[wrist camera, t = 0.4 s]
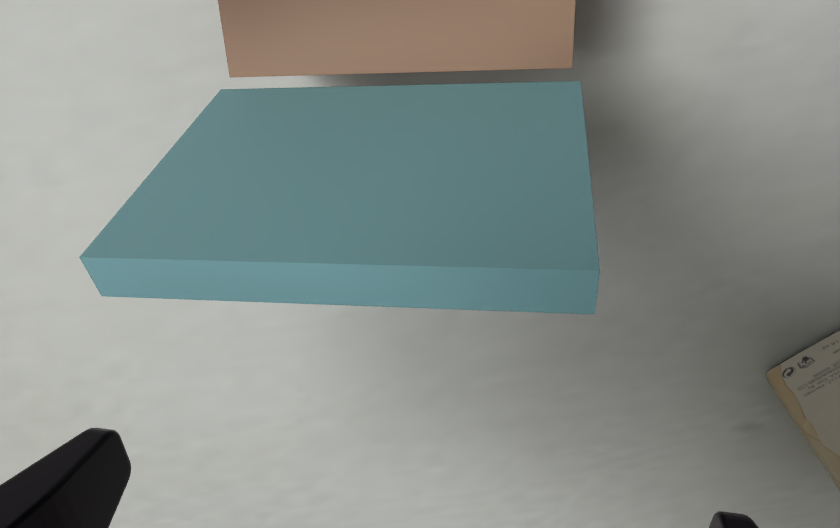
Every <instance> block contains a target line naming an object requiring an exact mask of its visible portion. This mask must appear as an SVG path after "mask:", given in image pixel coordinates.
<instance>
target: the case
mask: <svg viewBox="0 0 840 528" xmlns="http://www.w3.org/2000/svg"><path fill="white" fill-rule="evenodd" d="M218 4H219V10H220V17H221V23H222V30H223V36H224V43H225V49H226V56H227V63H228V69H229V76H230V77H259V76H296V75H333V74H370V73H407V72H444V71H481V70H518V69H556V68H572V63H573V42H574V21H575V0H218Z"/></svg>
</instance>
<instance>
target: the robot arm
mask: <svg viewBox="0 0 840 528" xmlns="http://www.w3.org/2000/svg"><path fill="white" fill-rule="evenodd" d="M130 473H131V463H130V460H129V458H128V455H127V452H126V450H125V447H124V445H123V442H122V440H121V437H120V435H119V434H118V433H117V432H116V431H115V430H110V429H102V428H90V429H88V430H86V431H84V432H82V433H81V434H79V435H78V436H76V437H74V438H73V439H71V440H70V441H68V442H67V443H65V444H64V445H62V446H60V447H59V448H57V449H56V450H54V451H53V452H51V453H50V454H48V455H46V456H45V457H43V458H42V459H40V460H39V461H37V462H36V463H34V464H32V465H31V466H29V467H28V468H26V469H25V470H23V471H22V472H20V473H18V474H17V475H15V476H14V477H12V478H11V479H9V480H8V481H6V482H4V483H3V484H1V485H0V528H108V527H109V525H110V523H111V520H112V518H113V516H114V513H115V511H116V509H117V506H118V504H119V502H120V499H121V497H122V495H123V492H124V490H125V487H126V485H127V483H128V480H129V477H130ZM709 528H758V526H757V525H756V524H755V523H754V521H753V520H752V519H751V518H749V517H748V516H746V515H743V514H737V513H730V512H722V511H720V512H717V513H716V514H715V515H714V516H713V518H712V521H711V523H710V526H709Z"/></svg>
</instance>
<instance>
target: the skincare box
mask: <svg viewBox="0 0 840 528" xmlns="http://www.w3.org/2000/svg"><path fill="white" fill-rule="evenodd" d="M766 378H767V380H768V381H769V383H770V384H771V386H772V388H773V389H774V391H775V392H776V394H777V395H778V397H779V398H780V400H781V401H782V403H783V404H784V406H785V407H786V409H787V411H788V412H789V414H790V415H791V417H792V418H793V420H794V422H795V423H796V425H797V426H798V428H799V429H800V431H801V432H802V434H803V435H804V437H805V438H806V440H807V441H808V443H809V445H810V446H811V448H812V449H813V451H814V452H815V454H816V455H817V457H818V458H819V460H820V461H821V463H822V464H823V466H824V467H825V469H826V470H827V472H828V473H829V475H830V476H831V478H832V479H833V481H834V483H835V484H836V486H837V487H838V489H839V491H840V330H839V331H837V332H836V333H834V334H832V335H830V336H829V337H827V338H825V339H823V340H821V341H819V342H818V343H816V344H814V345H812V346H811V347H809V348H807V349H805V350H803V351H802V352H800V353H798V354H797V355H795V356H793V357H791V358H789V359H788V360H786V361H784V362H783V363H781V364H780V365H778V366H776V367H774V368H773V369H771V370H769V371H768V372H767V373H766Z"/></svg>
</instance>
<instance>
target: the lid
mask: <svg viewBox="0 0 840 528" xmlns="http://www.w3.org/2000/svg"><path fill="white" fill-rule="evenodd" d="M80 259H81V261H82V263H83V264H84V266H85V268H86V270H87V271H88V273H89V275H90V277H91V278H92V280H93V282H94V284H95V285H96V287H97V289H98V291H99V292H100V294H101V296H110V297H137V298H164V299H192V300H219V301H246V302H273V303H300V304H327V305H355V306H382V307H409V308H436V309H463V310H490V311H518V312H545V313H572V314H595V306H596V298H597V290H598V281H599V273H600V268H599V258H598V248H597V238H596V228H595V218H594V208H593V198H592V188H591V178H590V168H589V158H588V148H587V138H586V128H585V118H584V108H583V98H582V88H581V81H561V82H519V83H476V84H434V85H391V86H349V87H306V88H264V89H221V90H220V91H219V92H218V94H217V95H216V96H215V97H214V98H213V100H212V101H211V102H210V103H209V104H208V106H207V107H206V108H205V109H204V110H203V111H202V113H201V114H200V115H199V116H198V117H197V119H196V120H195V121H194V122H193V123H192V124H191V126H190V127H189V128H188V129H187V130H186V132H185V133H184V134H183V135H182V136H181V138H180V139H179V140H178V141H177V142H176V143H175V145H174V146H173V147H172V148H171V149H170V151H169V152H168V153H167V154H166V155H165V157H164V158H163V159H162V160H161V161H160V162H159V164H158V165H157V166H156V167H155V168H154V170H153V171H152V172H151V173H150V174H149V175H148V177H147V178H146V179H145V180H144V181H143V183H142V184H141V185H140V186H139V187H138V189H137V190H136V191H135V192H134V193H133V194H132V196H131V197H130V198H129V199H128V200H127V202H126V203H125V204H124V205H123V206H122V207H121V209H120V210H119V211H118V212H117V213H116V215H115V216H114V217H113V218H112V219H111V221H110V222H109V223H108V224H107V225H106V226H105V228H104V229H103V230H102V231H101V232H100V234H99V235H98V236H97V237H96V238H95V240H94V241H93V242H92V243H91V244H90V245H89V247H88V248H87V249H86V250H85V251H84V253H83V254H82V255H81V256H80Z"/></svg>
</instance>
